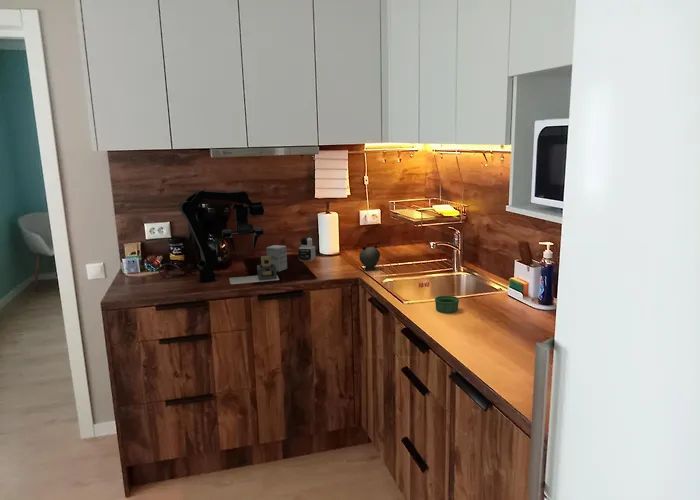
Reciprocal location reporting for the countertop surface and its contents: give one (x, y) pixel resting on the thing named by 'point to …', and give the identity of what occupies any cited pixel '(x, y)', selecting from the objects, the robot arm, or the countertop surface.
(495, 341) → the countertop surface
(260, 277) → the collar stand
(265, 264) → the beige tall block
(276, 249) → the supplement box
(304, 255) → the medicine bottle
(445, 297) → the ramekin
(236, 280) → the white board
